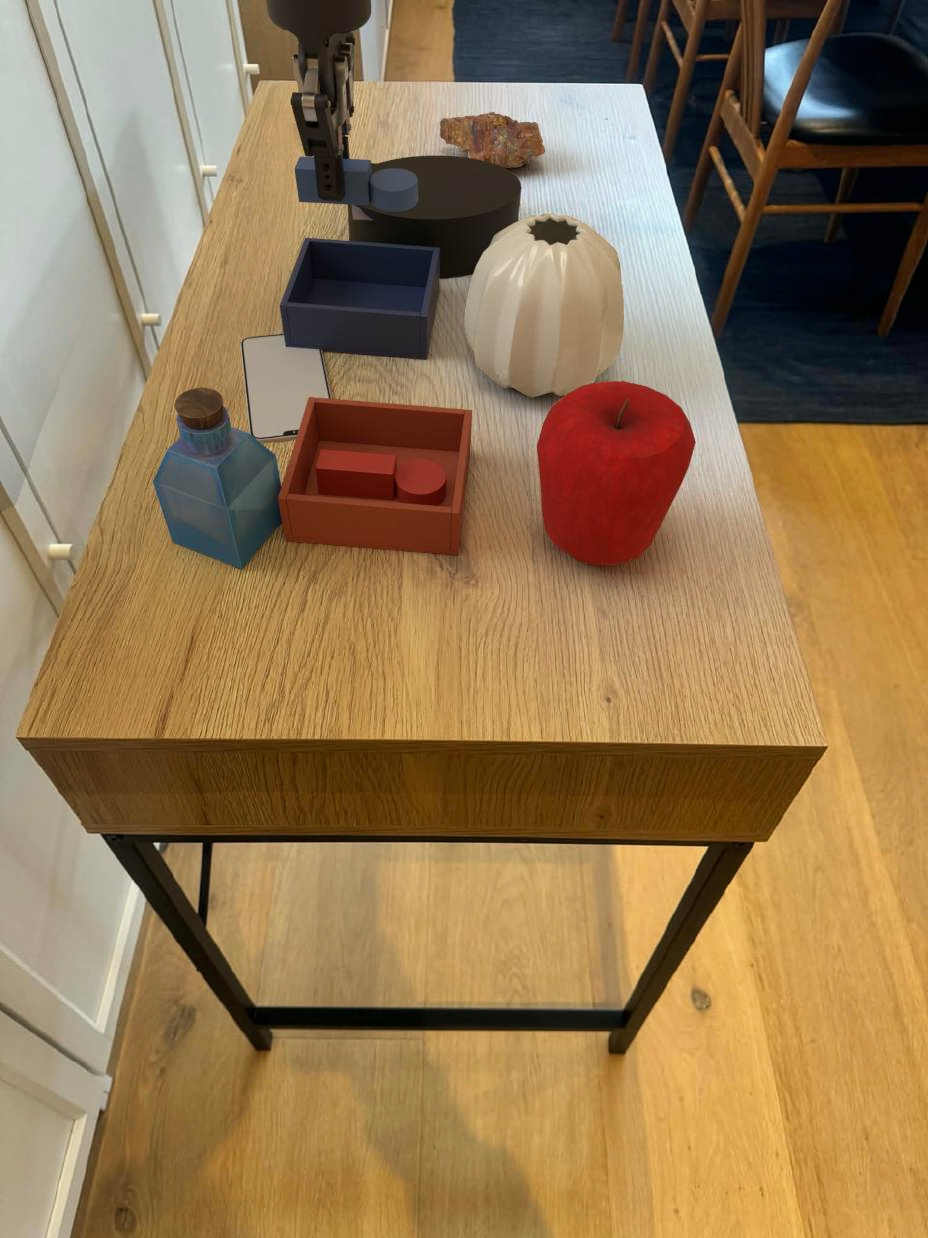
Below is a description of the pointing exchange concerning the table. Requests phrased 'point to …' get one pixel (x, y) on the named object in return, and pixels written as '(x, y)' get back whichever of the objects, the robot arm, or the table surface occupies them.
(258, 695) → the table surface
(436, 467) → the red spoon
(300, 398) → the smartphone
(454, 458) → the terracotta bin
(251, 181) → the table surface
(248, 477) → the perfume bottle
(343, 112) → the robot arm
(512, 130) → the mineral specimen
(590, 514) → the apple
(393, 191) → the blue spoon
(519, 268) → the vase
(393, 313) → the navy bin
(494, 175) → the black oval cylinder
